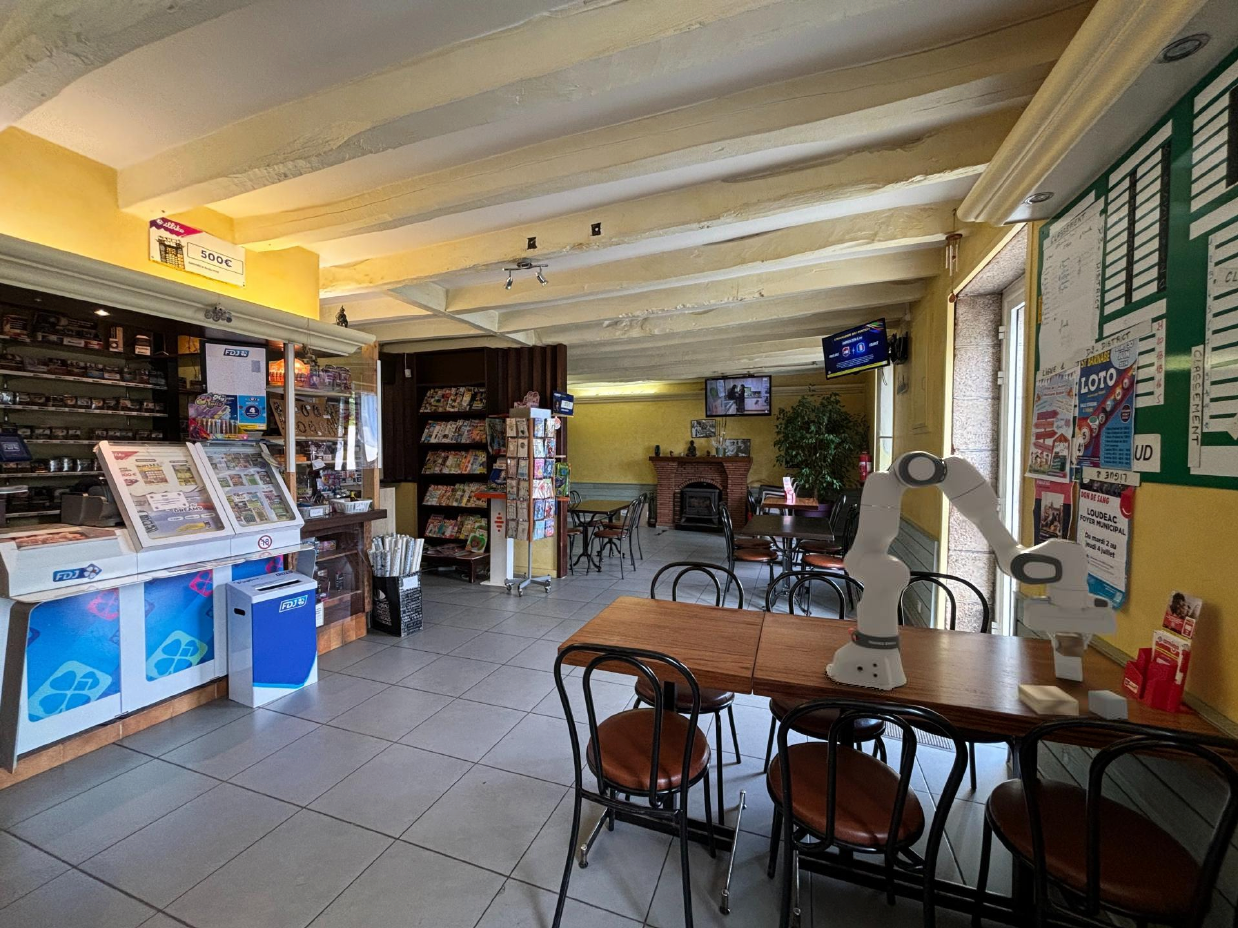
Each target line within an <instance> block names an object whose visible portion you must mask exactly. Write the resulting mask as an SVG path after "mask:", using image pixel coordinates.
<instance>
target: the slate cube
mask: <svg viewBox="0 0 1238 928" xmlns="http://www.w3.org/2000/svg"><path fill="white" fill-rule="evenodd" d="M1087 693H1088V709H1089V711H1090V712H1092V713H1094V714H1095V715H1098V716H1100V717H1102V718H1104V719H1105V718H1106V720H1119V719H1118V718H1121V719H1120V720H1129V719H1128V717H1129V716H1128V699H1127V698H1125V697H1123V696H1121V695H1119V694H1116V693H1114V692H1113V691H1110V690H1108V689H1107V690H1088V691H1087Z"/></svg>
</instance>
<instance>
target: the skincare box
mask: <svg viewBox="0 0 1238 928" xmlns="http://www.w3.org/2000/svg"><path fill="white" fill-rule="evenodd" d="M1054 637H1055V635H1054ZM1052 647H1053V646H1052ZM1052 649H1053V658H1054V659H1053V660H1054V669H1055V670H1054V671H1055V672H1054V673H1055V678H1061V679H1064V680H1065V679H1066V680H1069V681H1077V682H1083V668H1082V667H1083V666H1082V657H1067V656H1063V655H1061V654H1060V653H1058V652H1057V651H1055V647H1053V648H1052Z"/></svg>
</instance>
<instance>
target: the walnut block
mask: <svg viewBox="0 0 1238 928" xmlns="http://www.w3.org/2000/svg"><path fill="white" fill-rule="evenodd" d="M1055 638H1056V640H1059V641H1061V648H1060V647H1055V651H1057V652H1058V653H1060V654H1061V655H1063V656H1067V657H1081V659H1083V658H1084V659H1085V649H1084V639H1082V638H1083V637H1080V636H1079V635H1077V634H1075V633H1066V632H1056V635H1055Z"/></svg>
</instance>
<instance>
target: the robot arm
mask: <svg viewBox="0 0 1238 928" xmlns="http://www.w3.org/2000/svg"><path fill="white" fill-rule="evenodd" d="M932 485H933V486H936V487H937V488H938V489H939V490H940V491H942V493H943V494H944V495H945V497H946V498H947V500H948V501H949V502H950V503H951V504H952V506H953V507H954V508H955V509H956V510H957V511H958V512H959V513H960V514H961V515H962V516H963V517H965V518H966V519H967V520H968V521H969V522H971V523H972V524H973V525H974V526H975V527H976V528H977V530H978V531H979V532H980V534H981V535H982V536H983V539H985V540H986V541H987V543H988V545H989V546H990V547H991V549H992V551H993V554H994V558H995V563H996V566H997V567H998V569H999V571H1000V572H1001V573H1002V574H1004V575H1006V576H1008V577H1010V578H1012V579H1014V580H1016V581H1018V582H1019V583H1021V584H1024V585H1027V586H1028V585H1029V586H1031V585H1032V586H1033V585H1035V586H1036V585H1046V596H1041V595H1040V596H1035V595H1030V596H1028V597H1026V598H1025V599H1023V603H1022V606H1023V609H1024V611H1023V619H1022V621H1023V622H1022V623H1023V625H1024V626H1025V627H1026V628H1027V629H1029V630H1030V631H1042V632H1044V631H1045V632H1046V635H1047V636H1048V637H1049V639H1050V640H1051V647H1060V648H1061V641H1059V640H1056V638H1055V637H1054V635H1056V633H1073V634H1075V633H1080V634H1081V636H1082V637H1081V638H1082V639H1084V650H1087V649H1088V644H1089V642H1090V641H1091V640H1092V638H1093V635H1108V636H1109V635H1111V636H1113V635H1116V633H1117V631H1118V626H1117V625H1118V622H1117V617H1116V612H1114V610H1113V609H1111V608H1113V601H1111V600H1109V599H1108V598H1106V597H1103V596H1100V595H1098V594H1095V593H1091V592H1090V587H1089V584H1088V581H1087V578H1088V575H1089V564H1088V556H1087V551H1086V548H1085V547H1084V545H1082V544H1081V543H1079V542H1077V541H1074V540H1069V539H1064V538H1059V537H1051V538H1048V539H1047V540H1046V541H1044V542H1042V543H1039V544H1037V545H1034V546H1031V547H1027V546H1025V545H1023V544H1021V543H1020V542H1018V541H1017V540H1016V539H1015V537H1014V536H1013V535H1012V533H1011V532H1010V531H1009V529H1007V527H1006V526H1005V524H1004V523H1003V522H1002V521H1001V519H1000V517H999V514H998V506H999V498H998V496H997V493H996V491H995V490H994V489H993V487H992V485H991V484H990V483H989V482H988V480H987V479H986V478H985V477H984V475H983V474H982V473H981V472H980V471H979V470H978V469H977V467H975V466H974V465H973V464H972V463H971V462H970V461H969V460H967V459H966V458H965V457H964V456H962V455H959V454H951V455H947V456H945V457H942V458H940V457H939V456H936V455H935V454H934V455H933V454H931V453H929V452H927V451H924V450H923V451H921V450H915V451H908V452H904V453H903V454H901V455H899V456H898V457H896V458H895V459H894V460H893V461H892V462H891V464H890V465H889V466H888V468H887V469H886V470H885V471H884V470H876V471H873V472H871V473H869V474H868V476H867V477H866V479H865V482H864V485H863V488H862V492H861V493H862V494H861V498H860V499H861V500H860V508H859V509H860V510H859V519H858V528H857V533H856V535H855V538H854V540H853V544H852V545H851V548H850V550H849V551H847V553H846V554H845V556H844V557H843V567H844V570H845V572H847V574H848V575H849V576H850V577H852V579H854V580H855V581H857V582H859V583H862V584H863V592H862V597H861V600H860V601H858V603H857V605H856V614H857V615H856V617H857V628H856V629H854V628H852V627H848V629H847V633H848V635H849V636H850V639H851V641H849V642H848V643H846V644H845V645H844V646H842V647H840V648H839V649H837V650H836V651H835V653H834V656H833V661H832V663H828V665H826V667H825V668H826V669H825V672H826V671H827V674H828V675H829V676H830V677H831V676H834V677H831V678H833V679H835V680H836V681H839V682H842V683H848V684H853V685H859V686H858V687H860V686H865V687H864V688H867V687H875V688H879V689H878V690H881V689H883V690H882V691H891V690H892V688H893V689H894V688H895V687H901V686H903V685H906V683H907V678H906V675H905V672H904V668H903V664H902V660H901V648H902V647H901V645H902V644H901V636H900V633H899V627H898V605H899V601H900V597H901V595H902V594H901V593H902V591H903V590H904V589H906V588H907V586H908V585H909V582H910V580H911V572H910V569H909V568H908V566H907V565H906V564H905V563H904V562H903V561H902V560H900V559H899V558H897V557H896V556H894V555H892V554H888V550H889V547H890V545H891V543H892V541H893V540H894V539H895V538H896V537H897V536H898V534H899V529H900V517H901V516H900V515H901V507H902V497H903V494H904V492H905V491H906V490H907V489H910V488H911V489H918V488H925V487H929V486H932ZM827 674H826V675H827ZM853 685H852V686H853Z"/></svg>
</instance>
